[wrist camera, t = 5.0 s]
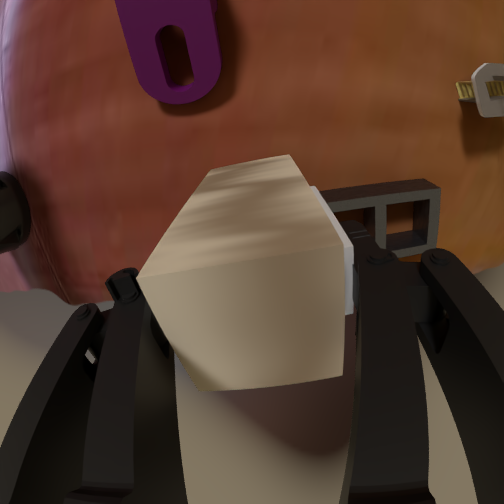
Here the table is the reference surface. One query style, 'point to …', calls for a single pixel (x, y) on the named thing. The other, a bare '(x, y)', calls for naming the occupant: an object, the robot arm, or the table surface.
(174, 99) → the mounting bracket
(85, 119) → the table surface
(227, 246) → the peg
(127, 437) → the robot arm
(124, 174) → the table surface
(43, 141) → the table surface
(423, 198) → the dark grey long frame
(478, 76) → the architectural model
